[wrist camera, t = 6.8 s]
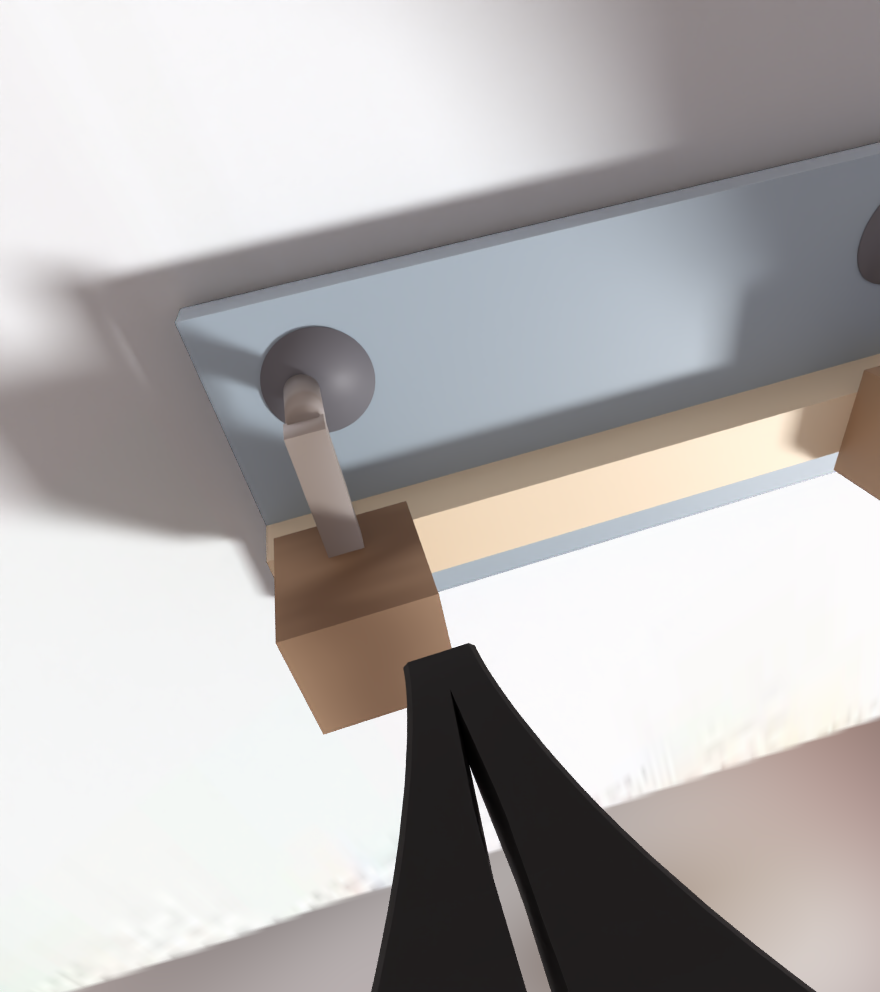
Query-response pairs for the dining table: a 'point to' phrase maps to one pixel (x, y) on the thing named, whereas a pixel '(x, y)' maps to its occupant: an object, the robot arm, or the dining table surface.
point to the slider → (348, 584)
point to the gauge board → (574, 367)
